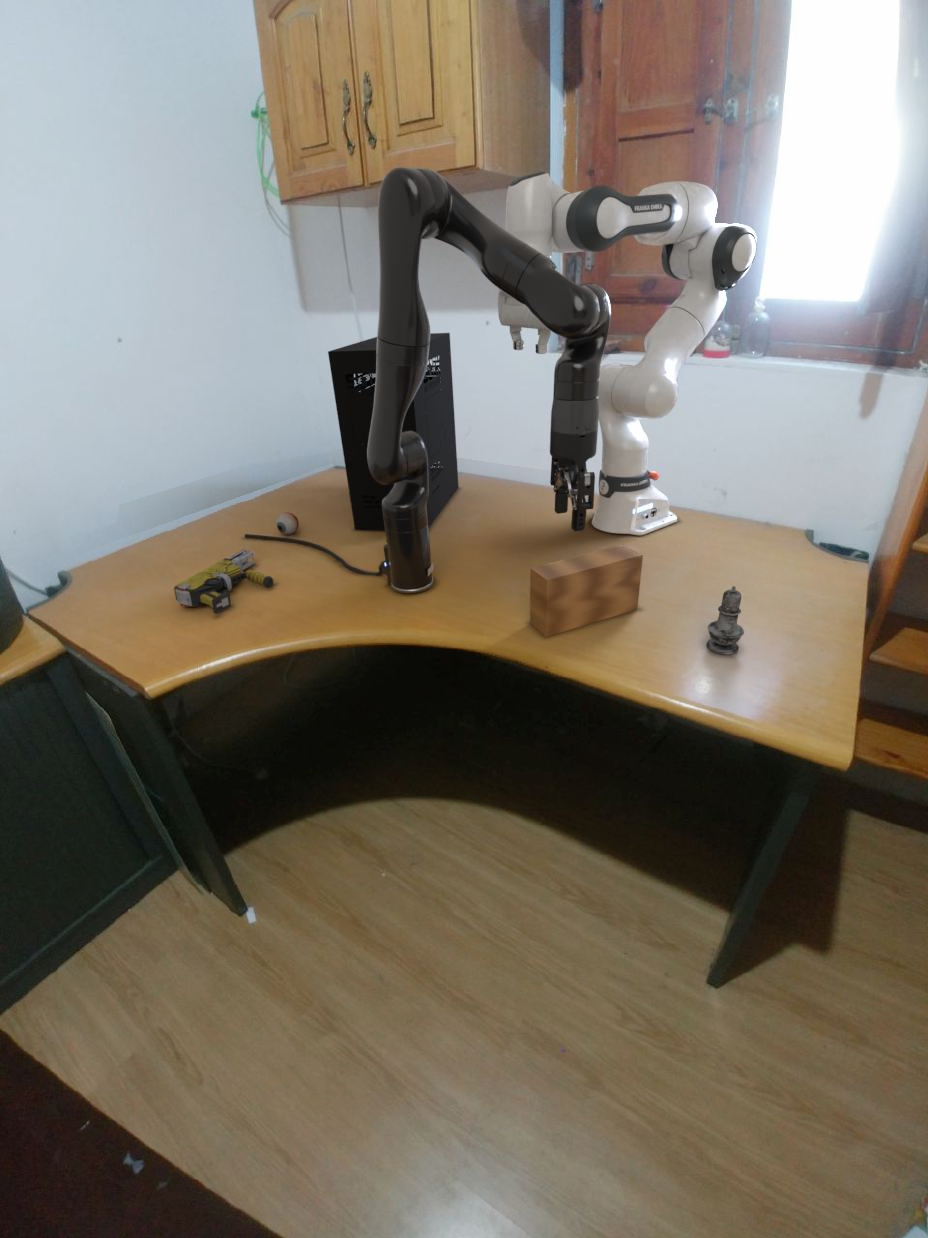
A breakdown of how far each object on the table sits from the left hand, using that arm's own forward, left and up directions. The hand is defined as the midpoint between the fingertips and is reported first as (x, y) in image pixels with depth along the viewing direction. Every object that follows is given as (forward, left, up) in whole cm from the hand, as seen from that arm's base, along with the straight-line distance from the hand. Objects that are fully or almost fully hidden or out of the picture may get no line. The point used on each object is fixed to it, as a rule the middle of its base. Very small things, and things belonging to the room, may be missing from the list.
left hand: (569, 521), depth 105 cm
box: (+1, +5, -22) cm, 22 cm away
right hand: (-24, +28, +23) cm, 44 cm away
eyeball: (-87, +6, -22) cm, 90 cm away
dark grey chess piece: (+27, +8, -22) cm, 35 cm away
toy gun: (-71, -22, -22) cm, 78 cm away
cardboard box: (-71, +39, -22) cm, 83 cm away
